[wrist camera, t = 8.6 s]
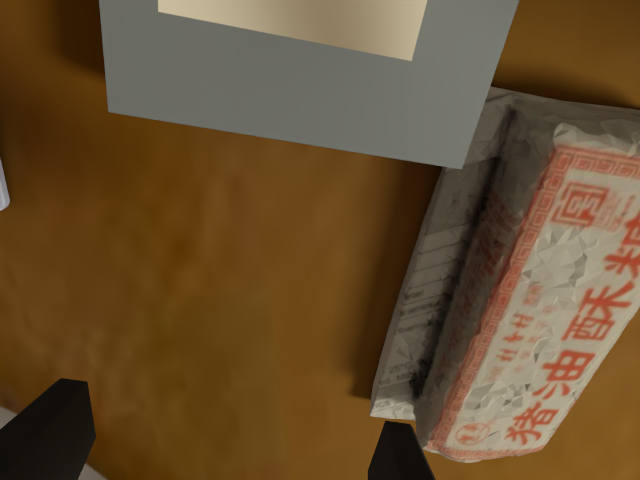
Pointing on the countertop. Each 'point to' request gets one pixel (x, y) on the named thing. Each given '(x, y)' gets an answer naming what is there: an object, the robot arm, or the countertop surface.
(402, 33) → the birch block
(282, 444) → the countertop surface
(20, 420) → the robot arm
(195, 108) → the gray plinth
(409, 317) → the packaged product
